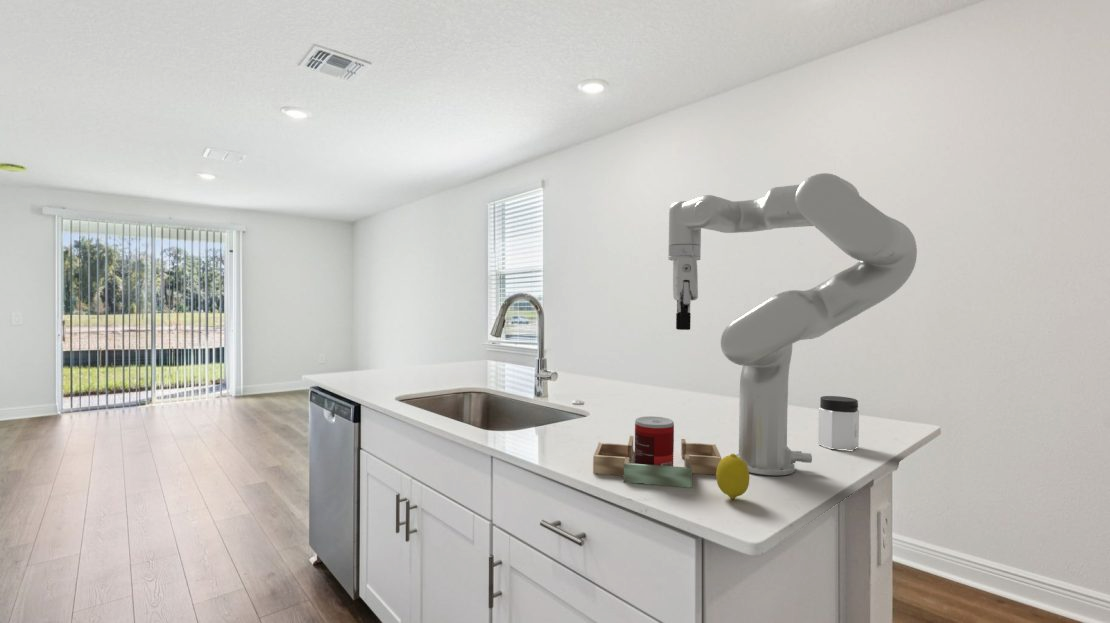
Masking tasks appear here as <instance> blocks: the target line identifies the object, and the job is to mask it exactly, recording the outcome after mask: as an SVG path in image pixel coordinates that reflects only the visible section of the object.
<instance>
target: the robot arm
mask: <svg viewBox="0 0 1110 623" xmlns="http://www.w3.org/2000/svg"><path fill="white" fill-rule="evenodd" d="M668 216H669V217H668V261H672V265H673V267H672V293H673V294H672V296H673V299H674V300H675V301H676V312H675V313H676V314H675V316H676V317H675V318H676V319H675V329H676V330H677V331H689V330H691V316H692V315H691V303H692V302H691V301H696V300H697V299H698V298H699V290H698V288H699V283H698V281H699V280H698V278H699V275H698V262H697V261H701V255H702V254H701V246H702V245H701V244H702V243H701V242H702V239H701V238H702V229H704V230H705V229H706V230H709V231H715V232H719V233H724V234H725V233H726V234H733V233H734V234H735V233H751V232H752V233H753V232H760V231H761V232H763V231H770V230H773V229H786V228H799V227H801V228H802V227H815V228H816V229H817V230H818V231H819V232H821V233H822V234H823V235H824V236H825V237H826V238H827V239H828V240H829V241H830V242H832V243H833V244H834V245H835V246H836V247H838V248H839V249H840V250H841V251H842V252H844V253H845V254H846V255H848V256H849V257H851V258H853V259H855V260H857V261H858V262H856V263H855V264H853V265H852V266H850V267H848V268H845V269H844V270H842V271H840V272H837V273H835V274H834V275H832V276H831V277H829V278H828V279H827V280H825V281H823V282H821V283H820V284H818V285H816V286H814V287H811V288H810V289H807V290H797V289H795V290H786V291H783V292H779V293H778V294H775V295H773V296H771V297H769V298H768V299H766V300H765V301H763V302H762V303H760V304H758V305H757V306H755V307H754V308H752V309H749V311H746V313H744V314H742V315H740V316H739V317H737V318H735V319H734V320H733V321H731V322H730V323H729V324H728V325H727V326H726V327H725V329H724V330H723V332H722V335H721V338H720V348H721V351H722V353H723V356H724V357H725V358H726V359H727V360H728V361H730V362H731V363H733V364H735V365H738V366H742V369H741V372H740V379H739V402H738V403H739V404H738V405H739V411H738V412H739V413H738V414H739V415H738V417H739V418H738V454H737V453H736V454H735V455H736V456H738V457H739V458H741V459H742V460H743V461H744V462H745V463H746V465H747V467H748V470H749V474H757V475H763V476H786V475H791V474H793V473H794V472H795V469H796V468H795V467H796V465H795V464H796V462H799V463H800V462H801V463H805V464H812V462H813V455H812V453H811V452H810V453H809V452H802V451H801V450H791V449H790V447H788V409H789V408H788V407H789V406H788V403H789V402H788V400H789V399H788V398H789V397H788V396H789V377H790V376H789V374H790V366H791V360H792V354H793V344H795V343H796V342H799V341H803V340H812V339H816V338H820V337H821V336H823V335H826V333H828V332H830V331H831V330H833V329H834V328H836V327H839V326H840V325H842V324H845V323H846V322H849V321H850V320H851V319H853V318H855V317H857V316H858V315H860V314H862V313H863V312H865V311H867V310H869V309H871V308H873V307H874V306H876V305H877V304H880V303H882V302H883V301H885V300H886V299H888V298H889V297H891V296H892V295H894V294H895V293H896V292H898V291H899V290H900V289H901V288H902V287H903V285H905V284H906V282H907V281H908V279H910V277H911V275H912V273H913V272H914V269H915V266H916V263H917V255H918V249H917V247H918V246H917V241H916V239H915V235H914V234H913V232H912V230H910V228H909V227H908V226H907V225H905V224H904V223H902V222H901V221H899V220H897V219H895V218H892V217H891V216H888V215H887V214H885V213H883V212H882V211H881V210H879V209H878V208H877V207H875V206H874V205H872V204H871V203H870V202H868V200H867V199H865V198H863V197H862V196H861V195H860V192H859V190H858V189H857V187H856V186H854V184H852V183H851V182H849V181H848V180H845V179H844V178H842V177H840V176H839V175H836V174H833V173H826V172H825V173H824V172H823V173H817V174H815V175H811V176H810V177H807V178H806V179H805V180H803V181H802V182H801V183H800V184H792V185H786V186H785V185H784V186H775V187H772V188H771V189H769V190H768V191H767V193H766V194H765V196H764V197H760V198H757V199H756V198H755V199H750V200H749V199H748V200H739V201H738V200H737V201H734V200H729V199H726V198H722V197H721V196H720V197H719V196H715V195H712V194H706V195H702V196H698V197H696V198H693V199H691V200H684V201H683V200H680V201H677V202H676V201H675V202H674V203H671V205H670V207H669V212H668Z"/></svg>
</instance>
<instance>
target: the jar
mask: <svg viewBox="0 0 1110 623" xmlns="http://www.w3.org/2000/svg"><path fill="white" fill-rule="evenodd" d="M819 399H820V400H819V401H820V407H819V408H818V419H817V420H818V422H817V423H818V426H817V427H818V428H817V430H818V431H817V433H818V434H817V435H818V436H817V437H818V438H817V440H818V441H817V445H818V444H821V445H824V446H827V447H830V448H834V449H847V450H854V449H855V448H856V447H858V448H859V443H860V442H859V440H860V439H859V437H860V435H859V433H860V432H859V430H860V426H859V425H860V411H859V401H858V399H856V398H853V397H848V396H847V397H846V396H840V395H839V396H838V395H822V396H821V397H820V398H819ZM854 451H855V450H854Z"/></svg>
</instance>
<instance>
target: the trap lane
mask: <svg viewBox="0 0 1110 623" xmlns="http://www.w3.org/2000/svg"><path fill="white" fill-rule="evenodd" d="M680 440H681V442H680V443H681V444H680V446H681V450H680V452H681V454H680V455H681V459H682V460H684V466H674V465H673V466H660V465H646V464H635V463H632V460H633V453H634V435H629V439H628V443H627V444H626V443H625V444H624V443H623V444H622V443H612V442H610V443H609V442H598V445H597V447H596V449H595V451H594V453H593V458H592V459H593V460H592V461H593V462H592V474H596V473H598V474H599V475H609V474H613V475H612V476H622V475H624V476H623V483H626V482H630V484H638V483H644V484H643V485H651V484H657V485H656V486H665V487H676V488H677V487H678V488H688V489H689V488H690V489H692V486H693V485H692V483H693V481H692V476H693V475H692V474H697V475H698V474H700V475H703V474H704V475H712V474H714V475H713V476H716V472H717V467H718V464H719V462H720V461H721V460H722V455H721V454H720V451H719V449H718V446H717V445H716V444H715V443H714V444H713V443H698V442H686V439H685V438H681V439H680ZM630 462H631V463H630Z"/></svg>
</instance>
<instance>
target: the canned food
mask: <svg viewBox="0 0 1110 623" xmlns="http://www.w3.org/2000/svg"><path fill="white" fill-rule="evenodd" d="M674 435H675V424H674V420H673V419H670V418H667V417H663V416H652V415H651V416H640V417H637V418H635V421H634V464H646V465H660V466H674V450H675V449H674V448H675V447H674V444H675V443H674V442H675V436H674Z"/></svg>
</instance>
